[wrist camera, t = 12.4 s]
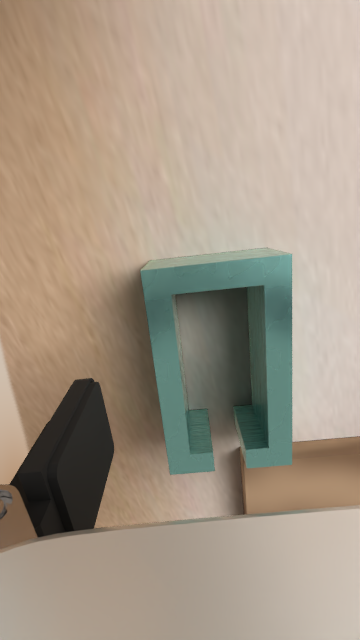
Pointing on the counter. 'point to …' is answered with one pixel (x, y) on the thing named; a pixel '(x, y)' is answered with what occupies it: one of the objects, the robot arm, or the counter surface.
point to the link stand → (306, 478)
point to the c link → (265, 354)
